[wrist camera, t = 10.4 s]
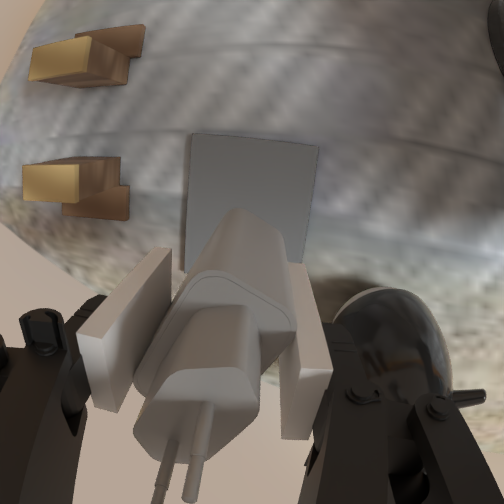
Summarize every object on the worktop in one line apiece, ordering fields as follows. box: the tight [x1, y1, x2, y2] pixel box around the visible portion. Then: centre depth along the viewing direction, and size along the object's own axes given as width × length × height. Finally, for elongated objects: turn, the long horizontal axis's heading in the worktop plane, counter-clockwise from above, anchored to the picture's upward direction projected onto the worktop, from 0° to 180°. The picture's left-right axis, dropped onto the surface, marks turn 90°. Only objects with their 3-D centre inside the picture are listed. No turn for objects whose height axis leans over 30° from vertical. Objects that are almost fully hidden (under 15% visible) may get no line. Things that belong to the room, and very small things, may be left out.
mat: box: [184, 133, 319, 273], centre depth 26 cm, size 12×10×1 cm
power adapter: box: [133, 208, 297, 504], centre depth 10 cm, size 3×5×12 cm, turn 147°
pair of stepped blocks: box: [22, 24, 146, 221], centre depth 21 cm, size 18×7×8 cm, turn 174°
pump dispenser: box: [332, 287, 486, 409], centre depth 23 cm, size 10×10×15 cm
